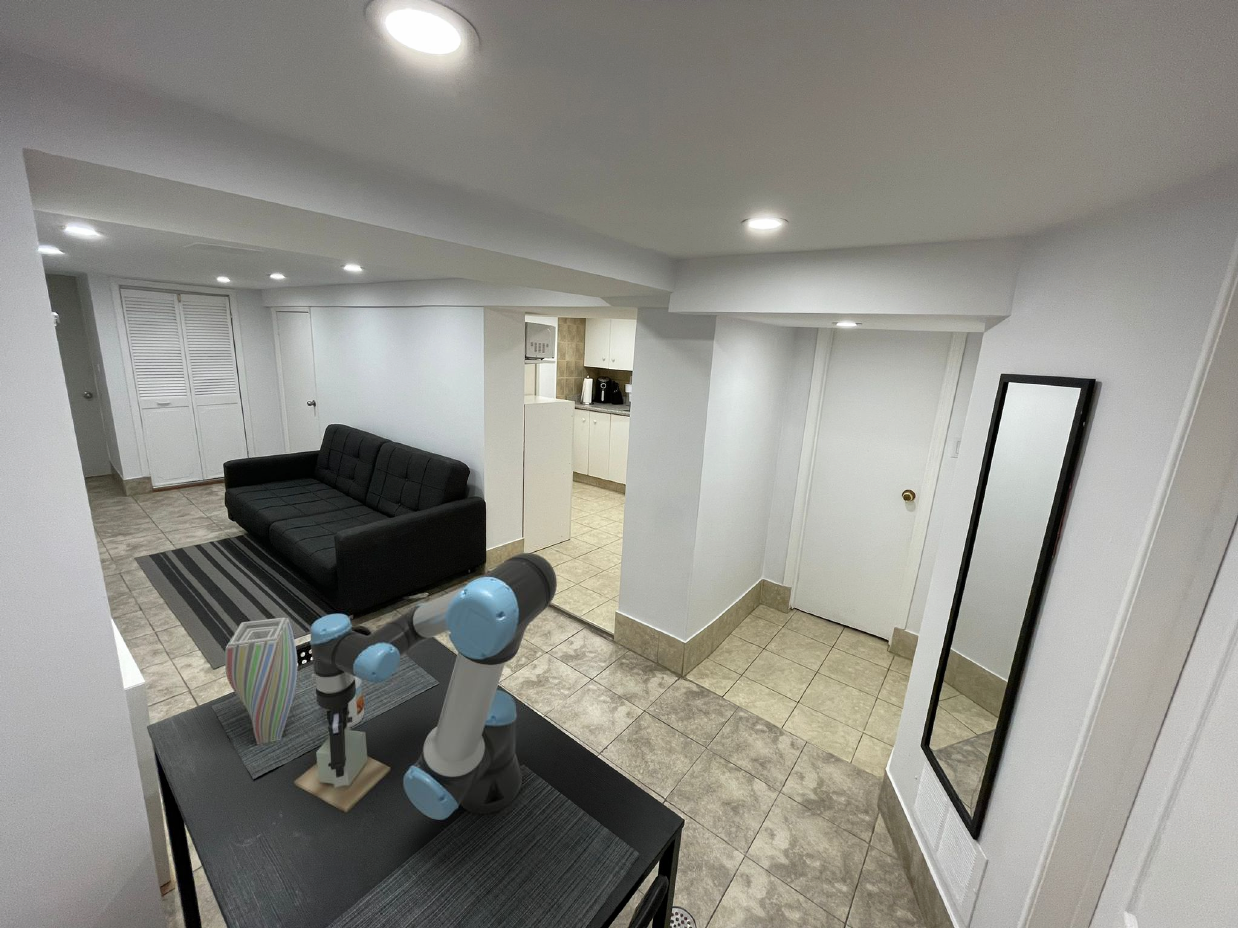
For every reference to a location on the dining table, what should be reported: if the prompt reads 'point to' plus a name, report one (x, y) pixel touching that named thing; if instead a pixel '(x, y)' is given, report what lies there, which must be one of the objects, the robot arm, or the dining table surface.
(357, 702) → the milk bottle
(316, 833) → the dining table surface
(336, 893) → the dining table surface
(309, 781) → the post base
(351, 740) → the pale green block
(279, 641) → the vase
